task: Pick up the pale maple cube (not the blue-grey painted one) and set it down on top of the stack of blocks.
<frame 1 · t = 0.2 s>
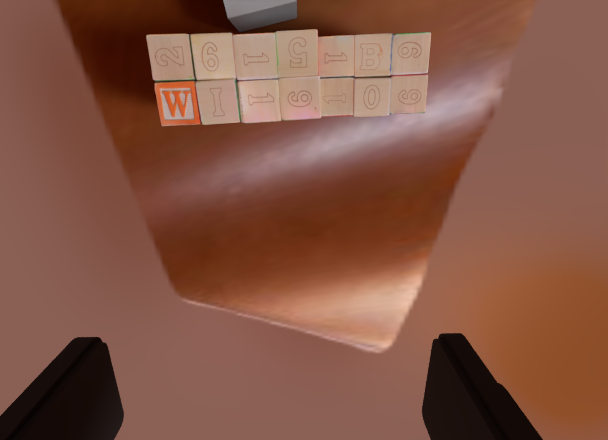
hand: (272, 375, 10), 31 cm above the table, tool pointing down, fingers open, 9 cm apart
stack of blocks: (298, 84, 36), on the table
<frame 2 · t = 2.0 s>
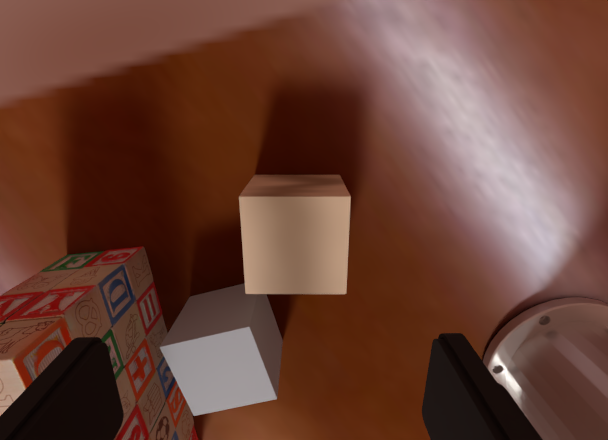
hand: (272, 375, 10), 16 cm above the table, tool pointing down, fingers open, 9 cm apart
maple cube: (297, 214, 24), on the table
bluegrey block: (237, 318, 27), on the table
stack of blocks: (143, 358, 29), on the table
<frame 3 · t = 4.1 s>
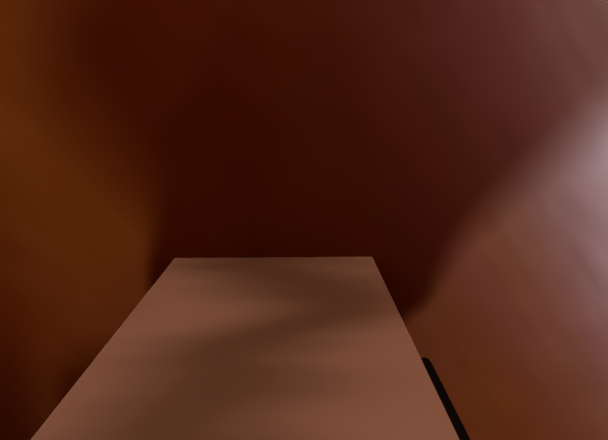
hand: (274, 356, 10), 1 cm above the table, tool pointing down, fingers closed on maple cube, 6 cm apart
maple cube: (276, 338, 11), on the table, touching gripper
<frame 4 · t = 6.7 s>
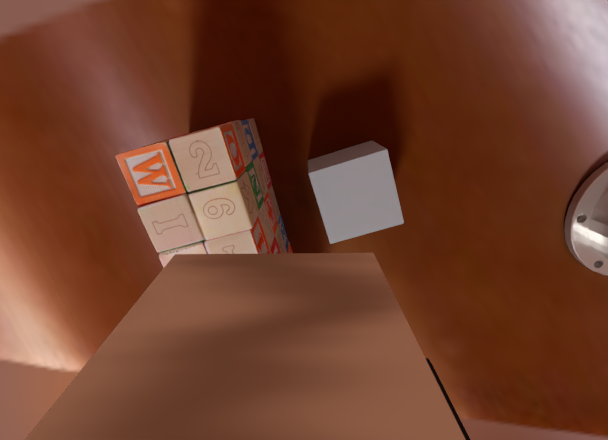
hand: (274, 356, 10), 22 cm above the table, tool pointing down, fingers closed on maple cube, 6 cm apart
maple cube: (277, 335, 11), point 21 cm above the table, touching gripper
bluegrey block: (347, 181, 31), on the table
stack of blocks: (256, 232, 33), on the table
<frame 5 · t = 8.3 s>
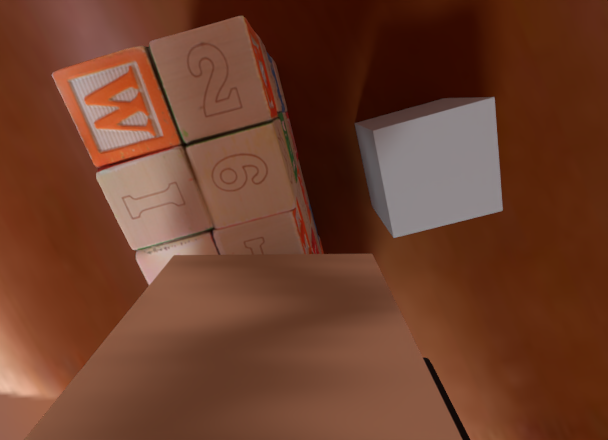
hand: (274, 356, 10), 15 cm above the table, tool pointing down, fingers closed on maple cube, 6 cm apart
maple cube: (276, 336, 11), point 14 cm above the table, touching gripper
bluegrey block: (405, 154, 23), on the table
stack of blocks: (274, 224, 25), on the table
when the fingers open (14 cm above the table, at t = 9.3 s): maple cube drops 1 cm, resting on stack of blocks.
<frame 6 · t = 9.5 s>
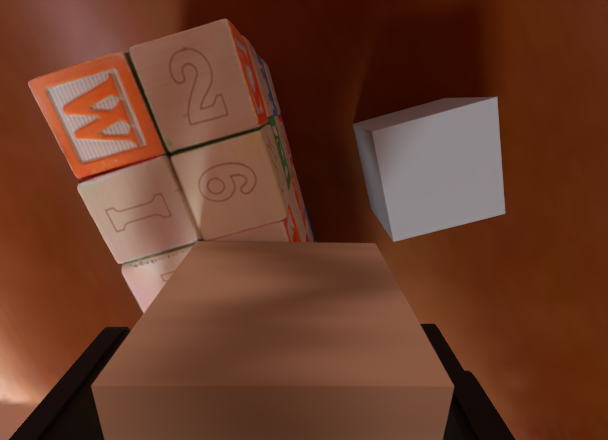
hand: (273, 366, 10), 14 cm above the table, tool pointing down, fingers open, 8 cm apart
maple cube: (286, 317, 12), point 12 cm above the table, touching stack of blocks
bluegrey block: (405, 156, 22), on the table
stack of blocks: (270, 229, 24), on the table, touching maple cube
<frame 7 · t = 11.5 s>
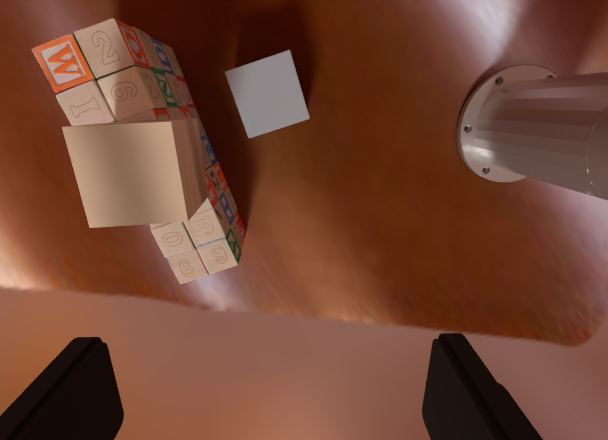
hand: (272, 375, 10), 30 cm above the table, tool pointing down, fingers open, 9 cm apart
maple cube: (163, 161, 25), point 12 cm above the table, touching stack of blocks
bluegrey block: (270, 97, 36), on the table
stack of blocks: (188, 156, 37), on the table, touching maple cube
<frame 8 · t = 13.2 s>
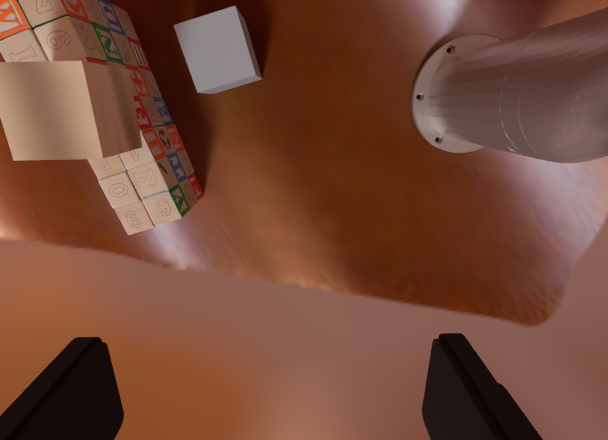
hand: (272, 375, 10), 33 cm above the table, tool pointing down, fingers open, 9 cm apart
maple cube: (98, 110, 27), point 12 cm above the table, touching stack of blocks
bluegrey block: (228, 58, 37), on the table
stack of blocks: (146, 119, 39), on the table, touching maple cube
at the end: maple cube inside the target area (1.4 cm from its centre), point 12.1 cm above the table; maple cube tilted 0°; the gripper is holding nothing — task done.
